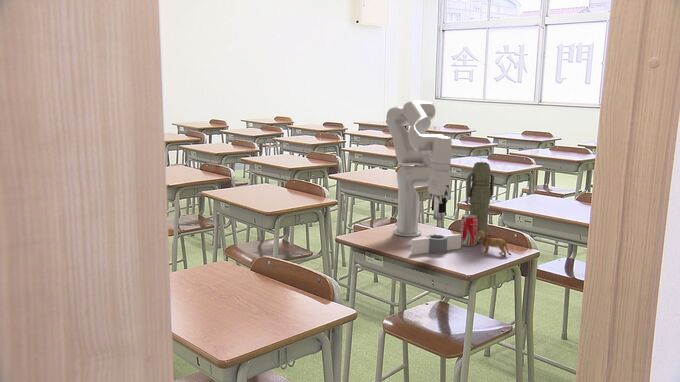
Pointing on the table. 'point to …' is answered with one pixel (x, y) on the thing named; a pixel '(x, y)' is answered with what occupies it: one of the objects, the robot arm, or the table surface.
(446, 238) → the hinge
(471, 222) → the soda can
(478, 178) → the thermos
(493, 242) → the lion figurine
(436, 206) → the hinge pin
